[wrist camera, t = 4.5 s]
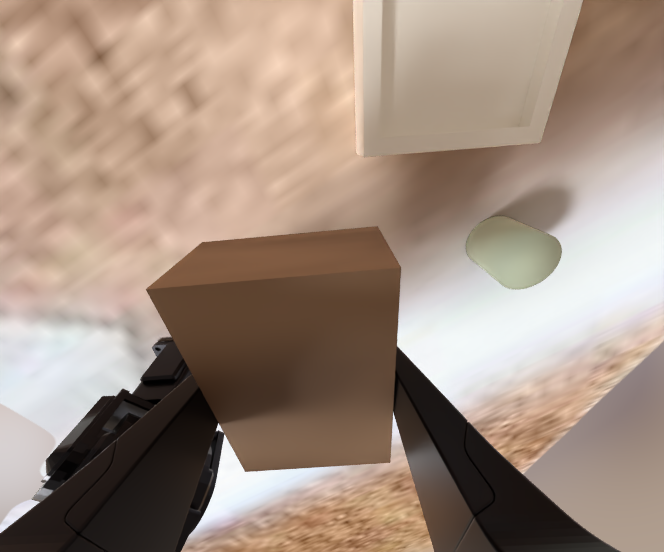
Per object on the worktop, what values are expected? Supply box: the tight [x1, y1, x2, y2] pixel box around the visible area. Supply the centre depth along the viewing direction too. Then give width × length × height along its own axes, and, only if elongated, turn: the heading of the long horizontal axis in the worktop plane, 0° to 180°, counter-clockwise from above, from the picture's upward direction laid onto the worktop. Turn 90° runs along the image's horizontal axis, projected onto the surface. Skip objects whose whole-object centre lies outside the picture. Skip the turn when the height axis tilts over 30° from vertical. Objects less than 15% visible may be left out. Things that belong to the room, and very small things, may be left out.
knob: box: [466, 216, 562, 289], centre depth 18 cm, size 4×4×4 cm
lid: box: [146, 226, 401, 472], centre depth 9 cm, size 9×6×3 cm, turn 5°
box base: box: [353, 0, 583, 157], centre depth 11 cm, size 12×9×4 cm
